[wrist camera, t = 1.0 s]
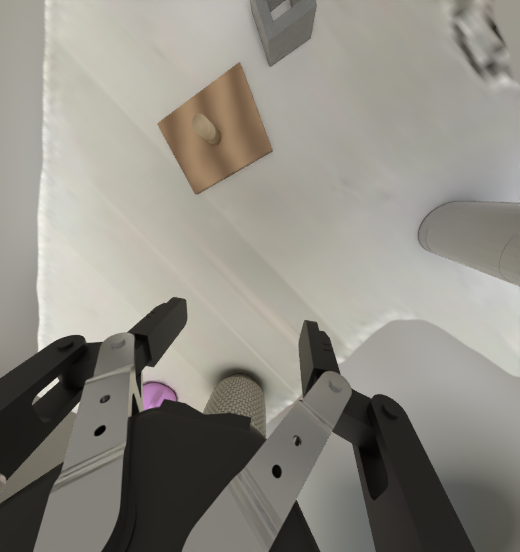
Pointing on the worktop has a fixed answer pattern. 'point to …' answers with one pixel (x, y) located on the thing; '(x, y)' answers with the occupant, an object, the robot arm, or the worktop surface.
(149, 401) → the teapot
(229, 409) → the planter
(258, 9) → the collar
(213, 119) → the post board
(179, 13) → the worktop surface
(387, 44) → the worktop surface
